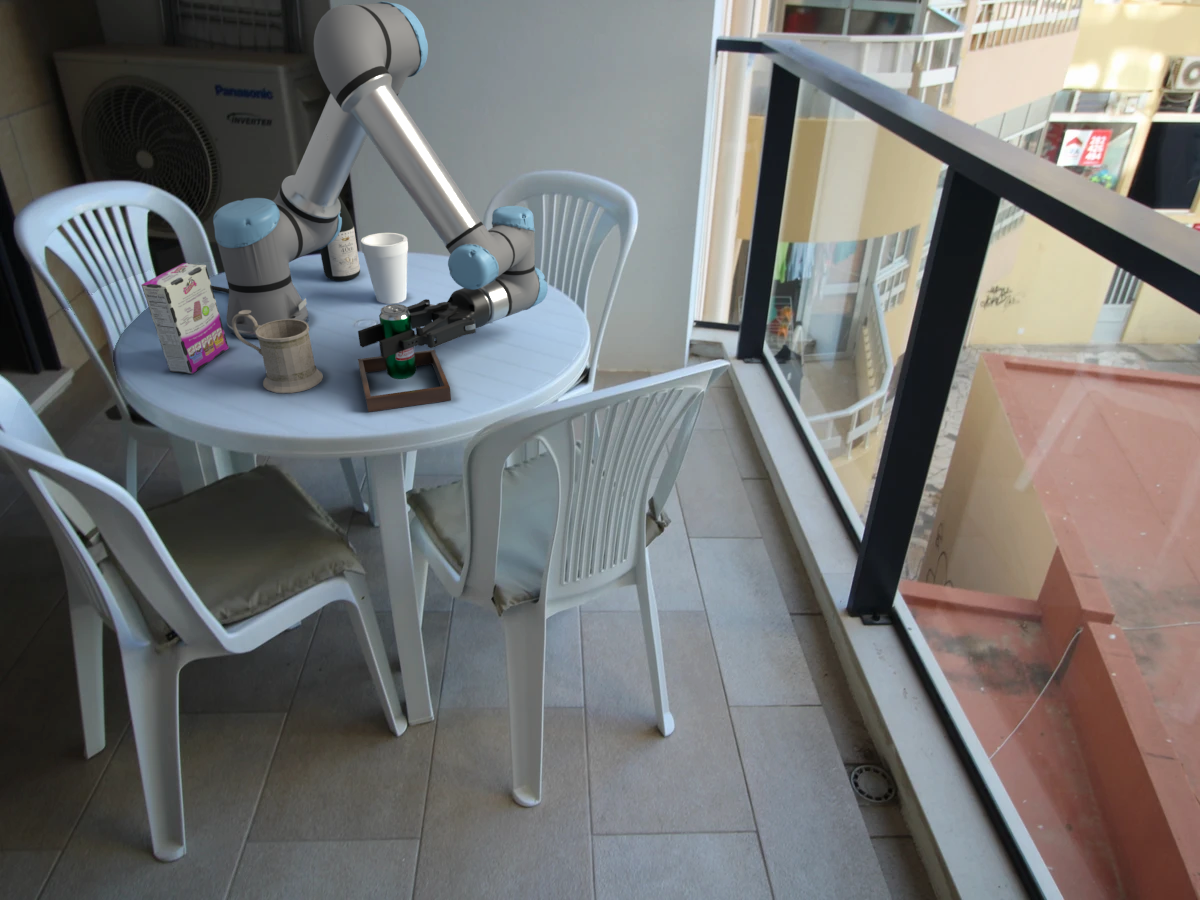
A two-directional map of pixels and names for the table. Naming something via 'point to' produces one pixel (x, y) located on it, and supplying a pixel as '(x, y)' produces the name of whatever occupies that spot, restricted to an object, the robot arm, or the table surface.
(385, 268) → the foam cup
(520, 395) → the table surface
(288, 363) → the mug
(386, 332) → the soda can
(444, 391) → the square wooden frame
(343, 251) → the wine bottle
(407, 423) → the table surface
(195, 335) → the candy bar box
